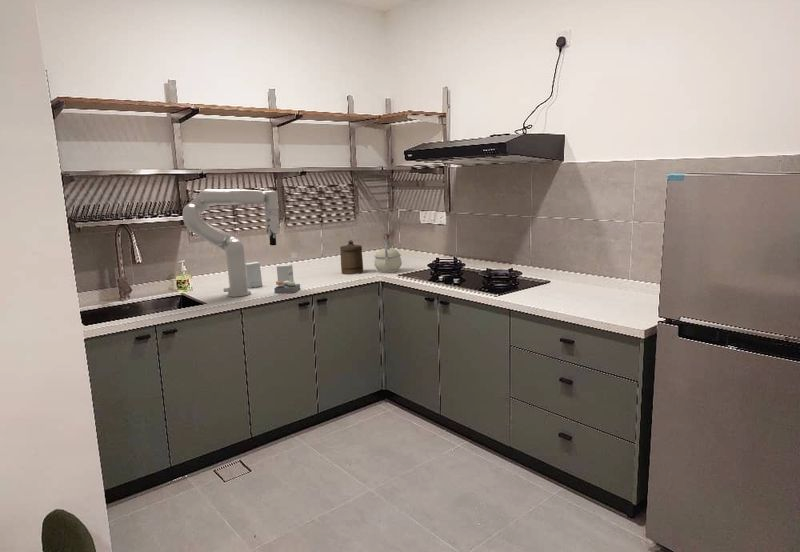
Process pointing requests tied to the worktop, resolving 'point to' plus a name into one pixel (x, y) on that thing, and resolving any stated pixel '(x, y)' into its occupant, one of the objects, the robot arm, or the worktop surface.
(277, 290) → the button panel
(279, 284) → the terracotta button
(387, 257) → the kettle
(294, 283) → the sage button
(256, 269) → the skincare box
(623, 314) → the worktop surface
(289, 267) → the supplement box
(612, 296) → the worktop surface
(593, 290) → the worktop surface
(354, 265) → the wooden container
